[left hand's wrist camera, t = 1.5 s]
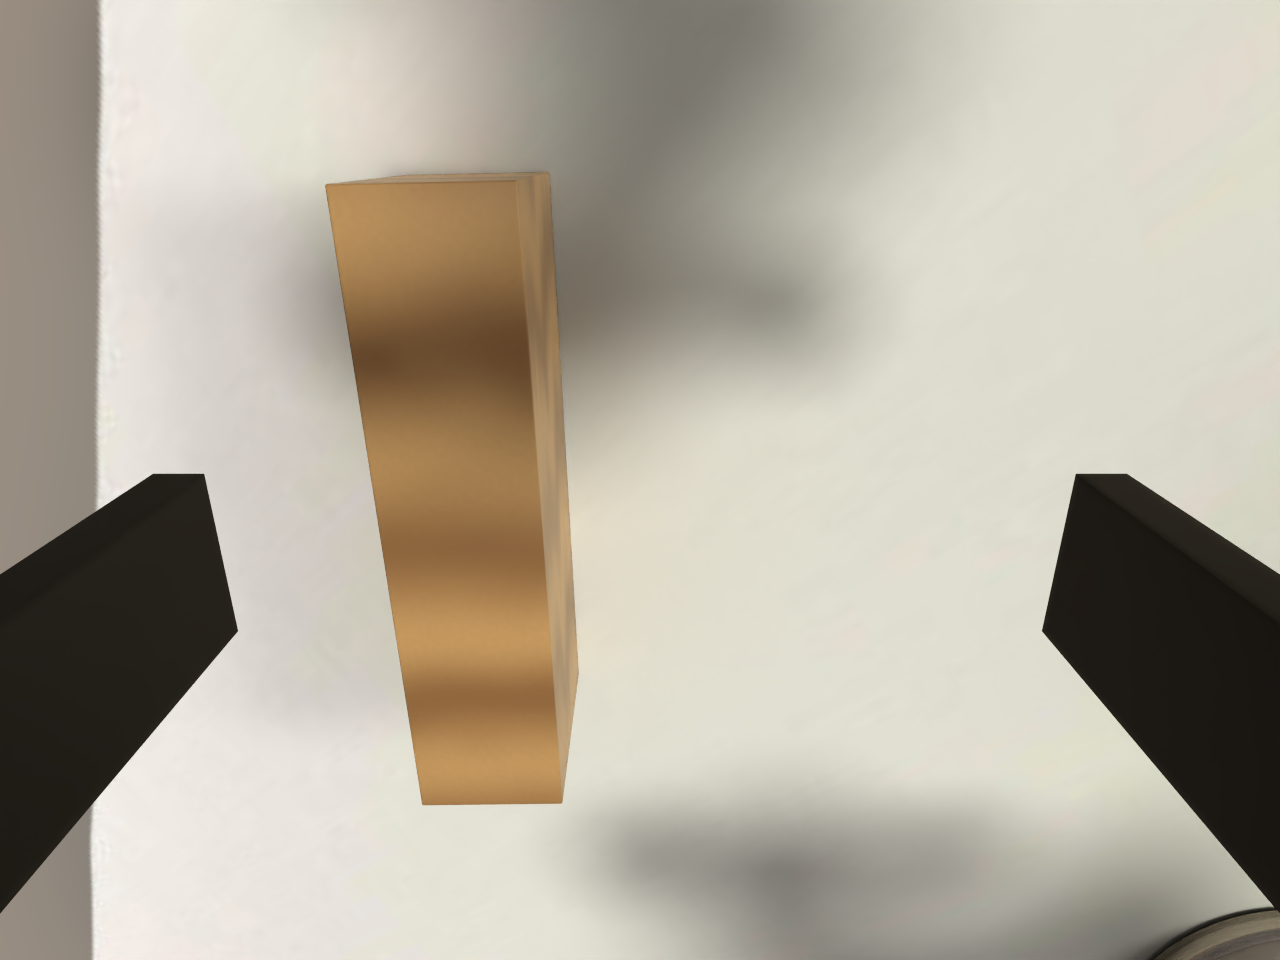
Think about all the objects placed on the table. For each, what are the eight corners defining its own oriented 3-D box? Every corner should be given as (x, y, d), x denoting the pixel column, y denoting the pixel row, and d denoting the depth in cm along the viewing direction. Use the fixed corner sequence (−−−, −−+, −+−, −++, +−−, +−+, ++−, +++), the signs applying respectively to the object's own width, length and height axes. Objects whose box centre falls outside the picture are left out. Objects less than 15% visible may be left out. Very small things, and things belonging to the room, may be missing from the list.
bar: (405, 175, 31) (324, 184, 23) (549, 172, 31) (517, 180, 23) (466, 675, 40) (422, 805, 32) (578, 673, 40) (562, 804, 32)
